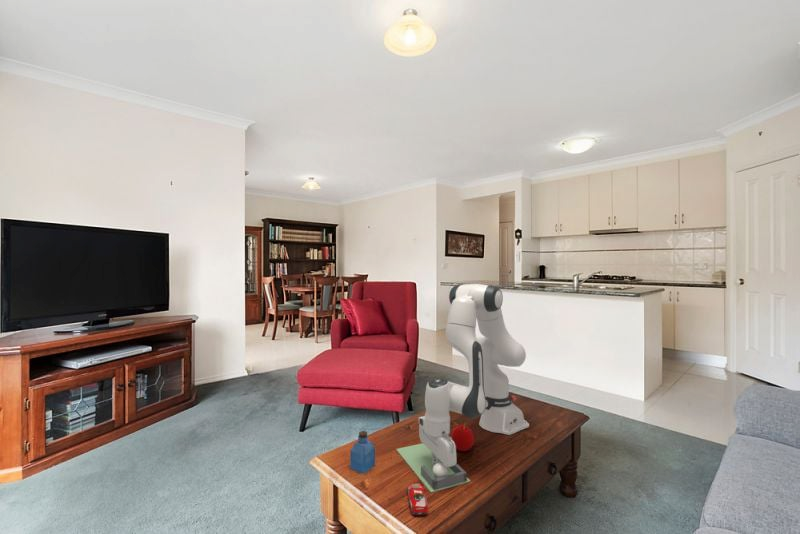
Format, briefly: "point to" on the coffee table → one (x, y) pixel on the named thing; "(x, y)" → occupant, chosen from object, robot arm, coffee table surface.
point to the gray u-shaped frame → (446, 480)
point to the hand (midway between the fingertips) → (436, 465)
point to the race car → (417, 499)
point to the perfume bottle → (362, 454)
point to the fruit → (462, 437)
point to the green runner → (422, 462)
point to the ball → (439, 470)
